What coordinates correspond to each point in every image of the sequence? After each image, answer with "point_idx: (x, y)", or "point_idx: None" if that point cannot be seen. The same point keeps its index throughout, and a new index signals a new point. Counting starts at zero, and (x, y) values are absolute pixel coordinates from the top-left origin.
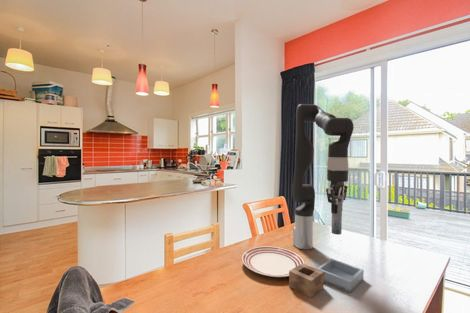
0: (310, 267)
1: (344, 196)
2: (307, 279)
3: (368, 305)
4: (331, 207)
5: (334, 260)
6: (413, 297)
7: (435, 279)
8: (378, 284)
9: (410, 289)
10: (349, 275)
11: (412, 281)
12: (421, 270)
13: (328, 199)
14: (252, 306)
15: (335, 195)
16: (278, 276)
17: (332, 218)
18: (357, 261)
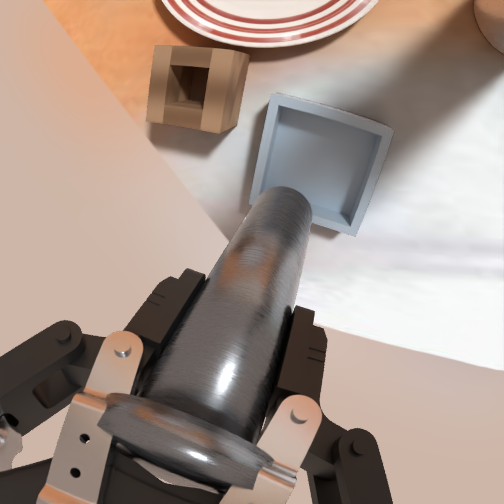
0: (220, 86)
1: (312, 490)
2: (148, 109)
3: (231, 230)
4: (142, 305)
5: (382, 143)
6: (323, 309)
7: (421, 351)
8: (347, 255)
9: (357, 310)
10: (345, 187)
11: (398, 318)
12: (456, 338)
13: (33, 344)
14: (80, 42)
15: (128, 453)
16: (172, 14)
17: (231, 242)
18: (471, 209)
